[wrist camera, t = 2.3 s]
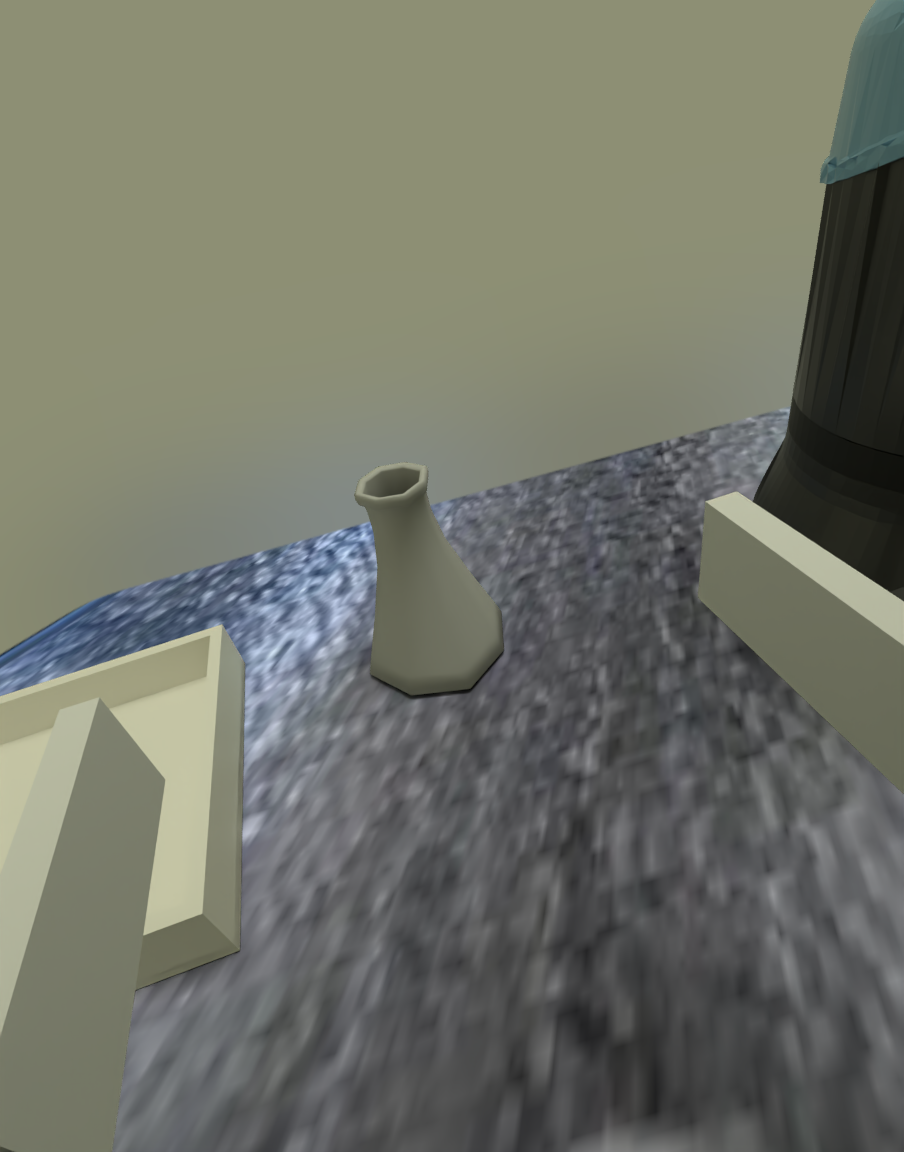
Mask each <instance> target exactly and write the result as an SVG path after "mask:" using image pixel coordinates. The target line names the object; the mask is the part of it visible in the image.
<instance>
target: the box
mask: <svg viewBox="0 0 904 1152" xmlns="http://www.w3.org/2000/svg"><path fill="white" fill-rule="evenodd" d="M98 697H100V698H101V700H102V701H103V702H104V703H105V705H106V706H107V707H108V708H109V710H110V711H111V712H112V713H113V715H114V716H115V717H116V718H117V720H118V721H119V722H120V723H121V725H122V726H123V727H124V728H125V730H126V731H127V732H128V733H129V735H130V736H131V737H132V738H133V740H134V741H135V742H136V743H137V745H138V746H139V747H140V748H141V750H142V751H143V752H144V753H145V755H146V756H147V757H148V758H149V760H150V761H151V762H152V763H153V765H154V766H155V767H156V769H157V770H158V771H159V772H160V774H161V775H162V776H163V777H164V779H165V787H164V794H163V801H162V808H161V815H160V821H159V828H158V835H157V842H156V849H155V856H154V863H153V870H152V877H151V884H150V891H149V898H148V905H147V912H146V919H145V926H144V933H143V940H142V947H141V954H140V961H139V968H138V975H137V982H136V989H135V990H137V989H139V988H142V987H145V986H147V985H150V984H153V983H155V982H158V981H161V980H163V979H166V978H168V977H171V976H174V975H176V974H179V973H182V972H184V971H187V970H190V969H192V968H195V967H197V966H200V965H203V964H205V963H208V962H211V961H213V960H216V959H219V958H221V957H224V956H226V955H229V954H232V953H234V952H237V951H240V924H241V868H242V813H243V758H244V702H245V662H244V661H243V659H242V657H241V656H240V654H239V652H238V651H237V649H236V647H235V645H234V644H233V642H232V640H231V639H230V637H229V635H228V633H227V632H226V630H225V628H224V627H223V625H219V626H216V627H213V628H210V629H207V630H204V631H201V632H197V633H194V634H191V635H188V636H185V637H182V638H179V639H176V640H173V641H170V642H167V643H164V644H161V645H157V646H154V647H151V648H148V649H145V650H142V651H139V652H136V653H133V654H130V655H127V656H124V657H120V658H117V659H114V660H111V661H108V662H105V663H102V664H99V665H96V666H93V667H90V668H87V669H83V670H80V671H77V672H74V673H71V674H68V675H65V676H62V677H59V678H56V679H53V680H50V681H46V682H43V683H40V684H37V685H34V686H31V687H28V688H25V689H22V690H19V691H16V692H13V693H9V694H6V695H3V696H0V874H1V871H2V868H3V865H4V862H5V860H6V857H7V854H8V851H9V849H10V846H11V843H12V840H13V837H14V835H15V832H16V829H17V826H18V824H19V821H20V818H21V815H22V812H23V810H24V807H25V804H26V801H27V799H28V796H29V793H30V790H31V787H32V785H33V782H34V779H35V776H36V774H37V771H38V768H39V765H40V762H41V760H42V757H43V754H44V751H45V749H46V746H47V743H48V740H49V737H50V735H51V732H52V729H53V726H54V724H55V721H56V718H57V715H58V712H59V710H61V709H64V708H67V707H70V706H73V705H77V704H80V703H83V702H86V701H89V700H92V699H95V698H98Z"/></svg>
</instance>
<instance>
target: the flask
mask: <svg viewBox="0 0 904 1152" xmlns="http://www.w3.org/2000/svg"><path fill="white" fill-rule="evenodd" d="M427 483H428V468H427V466H423V465H418V464H413V463H408V462H403V463H397V464H391V465H385V466H379V467H377V468H375V469H374V470H373V471H371V472H370V473H368V474H367V475H365V476H364V477H363V478H361V479H360V480H359V481H358V484H357V488H356V491H355V494H354V496H355V500H356V501H357V503H358V504H359V505H360V506H364V507H365V508H366V510H367V512H368V515H369V519H370V522H371V525H372V529H373V532H374V540H375V549H376V558H377V566H378V569H377V588H376V607H375V622H374V632H373V643H372V653H371V667H370V674H371V675H373V676H375V677H377V678H379V679H380V680H382V681H384V682H386V683H388V684H390V685H392V686H394V687H396V688H398V689H400V690H402V691H404V692H406V693H408V694H410V695H419V694H428V693H437V692H446V691H455V690H463V689H471V687H472V686H473V685H474V684H475V683H476V682H477V680H478V679H479V678H480V677H481V676H482V675H483V673H484V672H485V671H486V670H487V669H488V668H489V667H490V665H491V664H492V663H493V662H494V661H495V660H496V658H497V657H498V656H499V655H500V654H501V653H502V652H503V650H504V643H503V628H502V613H501V611H500V609H499V608H498V607H497V605H496V604H495V602H494V601H493V600H492V599H491V597H490V596H489V595H488V594H487V593H486V591H485V590H484V589H483V588H482V586H481V585H480V584H479V583H478V581H477V580H476V579H475V578H474V577H473V575H472V574H471V573H470V571H469V570H468V569H467V567H466V566H465V565H464V563H463V562H462V561H461V559H460V558H459V556H458V555H457V554H456V552H455V551H454V550H453V548H452V547H451V546H450V544H449V543H448V541H447V540H446V539H445V537H444V535H443V533H442V531H441V529H440V527H439V525H438V522H437V520H436V518H435V516H434V514H433V512H432V510H431V507H430V504H429V500H428V496H427V492H426V491H427Z"/></svg>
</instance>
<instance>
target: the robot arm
mask: <svg viewBox="0 0 904 1152" xmlns="http://www.w3.org/2000/svg"><path fill="white" fill-rule="evenodd" d="M820 183H825V184H827V185H826V191H825V197H824V204H823V211H822V217H821V223H820V230H819V236H818V243H817V250H816V256H815V262H814V269H813V275H812V282H811V288H810V294H809V300H808V306H807V312H806V318H805V324H804V329H803V336H802V342H801V347H800V354H799V359H798V365H797V371H796V376H795V382H794V388H793V397H792V403H791V409H790V415H789V421H788V427H787V432H786V436H785V439H784V440H783V442H782V444H781V446H780V448H779V450H778V451H777V453H776V455H775V457H774V458H773V460H772V462H771V464H770V466H769V468H768V469H767V471H766V473H765V475H764V477H763V479H762V481H761V483H760V485H759V487H758V489H757V492H756V494H755V497H754V500H753V502H752V501H750V500H749V499H747V498H746V497H744V496H743V495H741V494H740V493H738V492H734V493H731V494H727V495H724V496H721V497H718V498H715V499H712V500H709V501H706V502H705V514H704V527H703V540H702V552H701V565H700V578H699V590H698V598H699V599H700V600H701V601H702V602H703V603H704V604H705V605H706V606H707V607H708V608H709V609H710V610H711V611H712V612H713V613H714V614H715V615H717V616H718V617H719V618H720V619H721V620H722V621H723V622H724V623H725V624H726V625H727V626H728V627H729V628H730V629H731V630H732V631H733V632H734V633H735V634H736V635H737V636H739V637H740V638H741V639H742V640H743V641H744V642H745V643H746V644H747V645H748V646H749V647H750V648H751V649H752V650H753V651H754V652H755V653H756V654H757V655H758V656H759V657H761V658H762V659H763V660H764V661H765V662H766V663H767V664H768V665H769V666H770V667H771V668H772V669H773V670H774V671H775V672H776V673H777V674H778V675H779V676H780V677H781V678H783V679H784V680H785V681H786V682H787V683H788V684H789V685H790V686H791V687H792V688H793V689H794V690H795V691H796V692H797V693H798V694H799V695H800V696H801V697H802V698H803V699H805V700H806V701H807V702H808V703H809V704H810V705H811V706H812V707H813V708H814V709H815V710H816V711H817V712H818V713H819V714H820V715H821V716H822V717H823V718H824V719H825V720H827V721H828V722H829V723H830V724H831V725H832V726H833V727H834V728H835V729H836V730H837V731H838V732H839V733H840V734H841V735H842V736H843V737H844V738H845V739H846V740H847V741H849V742H850V743H851V744H852V745H853V746H854V747H855V748H856V749H857V750H858V751H859V752H860V753H861V754H862V755H863V756H864V757H865V758H866V759H867V760H868V761H869V762H871V763H872V764H873V765H874V766H875V767H876V768H877V769H878V770H879V771H880V772H881V773H882V774H883V775H884V776H885V777H886V778H887V779H888V780H889V781H890V782H891V783H893V784H894V785H895V786H896V787H897V788H898V789H899V790H900V791H901V792H902V793H903V794H904V0H876V1H875V3H874V4H873V6H872V7H871V9H870V10H869V12H868V14H867V15H866V17H865V19H864V21H863V22H862V25H861V27H860V29H859V31H858V34H857V36H856V38H855V42H854V45H853V48H852V52H851V56H850V61H849V66H848V71H847V75H846V80H845V85H844V90H843V96H842V100H841V104H840V109H839V114H838V119H837V123H836V128H835V133H834V137H833V142H832V147H831V151H830V156H828V157H827V158H826V160H825V161H824V163H823V165H822V168H821V176H820ZM164 787H165V779H164V777H163V776H162V775H161V774H160V772H159V771H158V770H157V769H156V767H155V766H154V765H153V763H152V762H151V761H150V760H149V758H148V757H147V756H146V755H145V753H144V752H143V751H142V750H141V748H140V747H139V746H138V745H137V743H136V742H135V741H134V740H133V738H132V737H131V736H130V735H129V733H128V732H127V731H126V730H125V728H124V727H123V726H122V725H121V723H120V722H119V721H118V720H117V718H116V717H115V716H114V715H113V713H112V712H111V711H110V710H109V708H108V707H107V706H106V705H105V703H104V702H103V701H102V700H101V698H100V697H98V698H95V699H92V700H89V701H86V702H83V703H80V704H77V705H73V706H70V707H67V708H64V709H61V710H59V712H58V715H57V718H56V721H55V724H54V726H53V729H52V732H51V735H50V737H49V740H48V743H47V746H46V749H45V751H44V754H43V757H42V760H41V762H40V765H39V768H38V771H37V774H36V776H35V779H34V782H33V785H32V787H31V790H30V793H29V796H28V799H27V801H26V804H25V807H24V810H23V812H22V815H21V818H20V821H19V824H18V826H17V829H16V832H15V835H14V837H13V840H12V843H11V846H10V849H9V851H8V854H7V857H6V860H5V862H4V865H3V868H2V871H1V874H0V1152H112V1149H113V1142H114V1135H115V1128H116V1121H117V1114H118V1107H119V1100H120V1093H121V1086H122V1079H123V1072H124V1065H125V1058H126V1051H127V1044H128V1037H129V1030H130V1023H131V1016H132V1009H133V1003H134V996H135V989H136V982H137V975H138V968H139V961H140V954H141V947H142V940H143V933H144V926H145V919H146V912H147V905H148V898H149V891H150V884H151V877H152V870H153V863H154V856H155V849H156V842H157V835H158V828H159V821H160V815H161V808H162V801H163V794H164Z"/></svg>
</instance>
